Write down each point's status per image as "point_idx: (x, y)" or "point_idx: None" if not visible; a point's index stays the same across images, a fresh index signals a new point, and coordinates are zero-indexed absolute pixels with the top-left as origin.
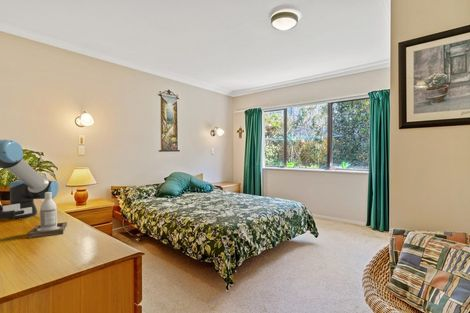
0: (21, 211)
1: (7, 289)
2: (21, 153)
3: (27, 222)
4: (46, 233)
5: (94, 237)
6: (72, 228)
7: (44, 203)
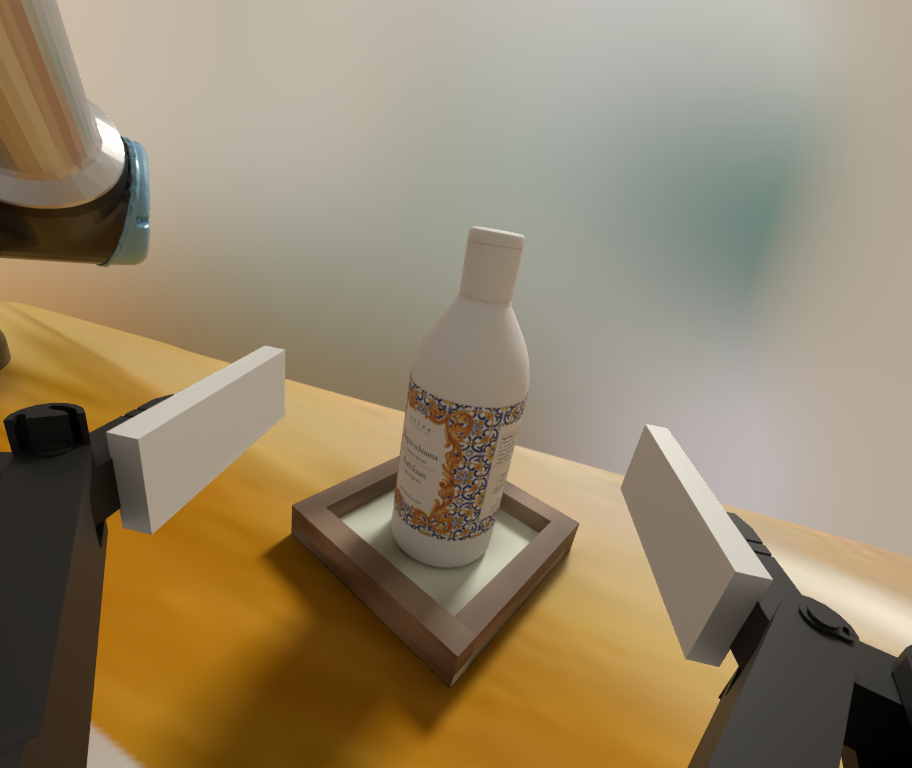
0: (755, 548)
1: None
2: None
3: None
4: (528, 588)
5: (786, 550)
6: None
7: (496, 342)
